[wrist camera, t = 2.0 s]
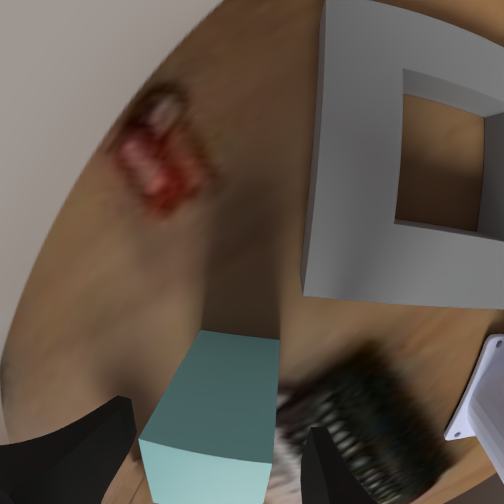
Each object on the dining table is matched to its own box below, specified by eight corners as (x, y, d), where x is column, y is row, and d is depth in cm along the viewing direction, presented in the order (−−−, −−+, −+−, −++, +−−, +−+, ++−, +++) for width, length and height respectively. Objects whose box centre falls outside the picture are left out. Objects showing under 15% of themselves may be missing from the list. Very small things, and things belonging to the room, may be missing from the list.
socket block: (518, 84, 11) (549, 73, 8) (503, 291, 14) (533, 310, 11) (319, 24, 12) (325, -8, 9) (299, 273, 14) (303, 295, 12)
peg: (280, 340, 15) (272, 463, 8) (271, 401, 16) (258, 522, 8) (200, 329, 16) (138, 438, 8) (199, 391, 17) (153, 502, 9)
